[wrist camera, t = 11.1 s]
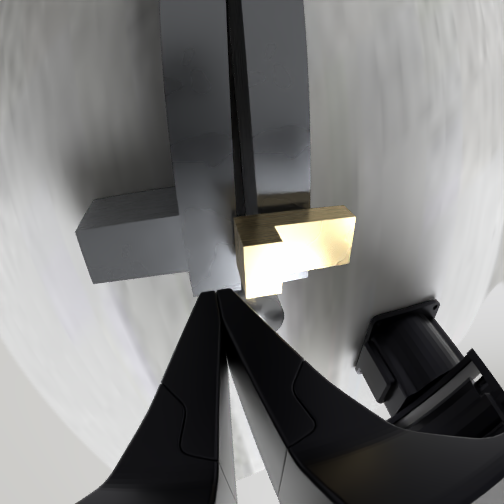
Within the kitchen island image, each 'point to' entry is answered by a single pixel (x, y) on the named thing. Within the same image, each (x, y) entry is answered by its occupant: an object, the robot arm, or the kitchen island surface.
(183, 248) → the tong base
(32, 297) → the kitchen island surface
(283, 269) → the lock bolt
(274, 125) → the tong arm
